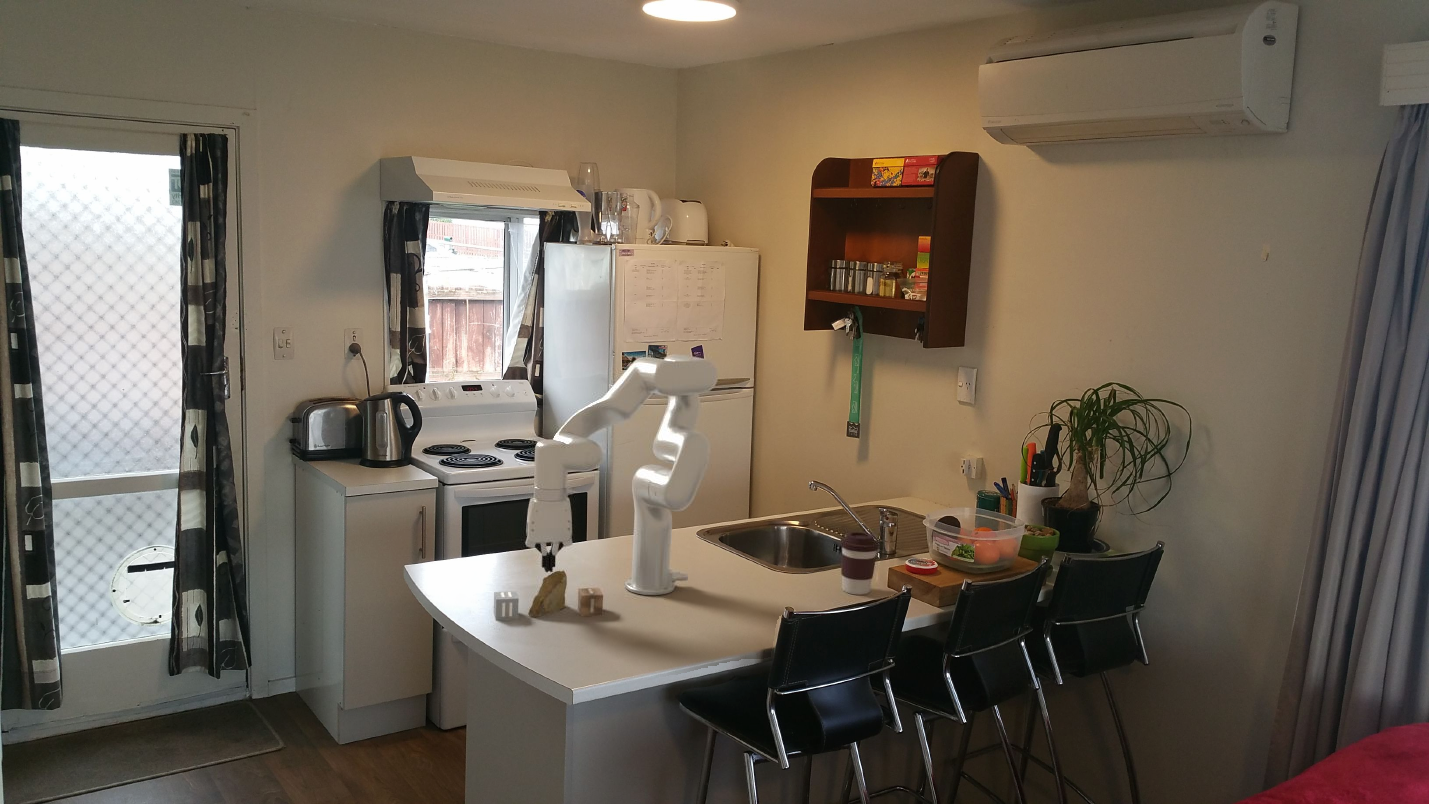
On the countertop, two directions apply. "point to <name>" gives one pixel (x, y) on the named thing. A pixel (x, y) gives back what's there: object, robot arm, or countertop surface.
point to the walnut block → (590, 601)
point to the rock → (550, 595)
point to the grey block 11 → (506, 605)
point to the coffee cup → (858, 562)
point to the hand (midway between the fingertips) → (548, 570)
